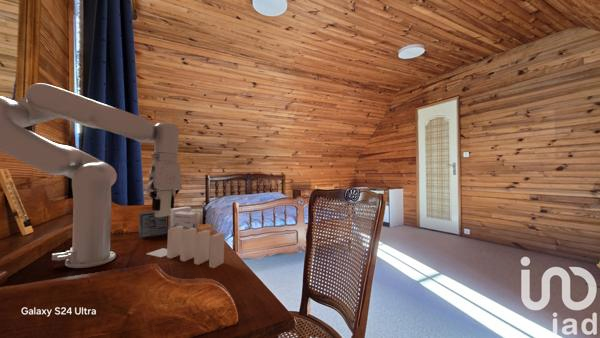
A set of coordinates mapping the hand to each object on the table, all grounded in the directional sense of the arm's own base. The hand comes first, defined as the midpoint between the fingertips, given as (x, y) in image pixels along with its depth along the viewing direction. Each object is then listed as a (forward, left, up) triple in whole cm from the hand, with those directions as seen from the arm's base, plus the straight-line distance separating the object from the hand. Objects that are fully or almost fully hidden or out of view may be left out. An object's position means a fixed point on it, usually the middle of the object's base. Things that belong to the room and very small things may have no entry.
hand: (163, 208), depth 92 cm
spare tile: (0, 0, -3) cm, 3 cm away
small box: (+4, +26, -16) cm, 31 cm away
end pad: (0, +1, -16) cm, 16 cm away
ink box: (+12, +11, -16) cm, 23 cm away
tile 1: (+10, -21, -16) cm, 29 cm away
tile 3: (+5, -10, -16) cm, 20 cm away
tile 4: (+3, -5, -16) cm, 17 cm away
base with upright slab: (+14, +22, -16) cm, 31 cm away
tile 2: (+8, -16, -16) cm, 24 cm away
